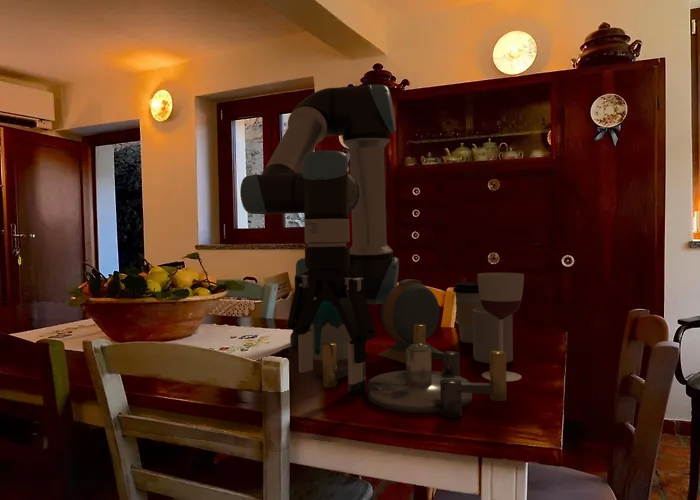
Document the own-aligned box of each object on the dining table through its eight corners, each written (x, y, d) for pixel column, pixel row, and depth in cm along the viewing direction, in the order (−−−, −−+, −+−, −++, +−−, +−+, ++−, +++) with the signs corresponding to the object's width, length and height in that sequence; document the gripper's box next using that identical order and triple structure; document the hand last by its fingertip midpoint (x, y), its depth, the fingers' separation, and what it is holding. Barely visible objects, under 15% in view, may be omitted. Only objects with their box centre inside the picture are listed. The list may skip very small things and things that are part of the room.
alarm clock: (419, 347, 127) (418, 276, 127) (448, 354, 119) (447, 278, 119) (374, 355, 119) (372, 280, 118) (402, 364, 111) (400, 282, 110)
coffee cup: (488, 337, 137) (488, 281, 136) (492, 345, 127) (491, 285, 127) (452, 337, 138) (452, 281, 138) (453, 344, 129) (453, 285, 129)
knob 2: (440, 417, 77) (439, 353, 77) (440, 409, 81) (440, 348, 80) (507, 420, 76) (507, 355, 75) (505, 412, 79) (504, 350, 78)
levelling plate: (346, 398, 88) (345, 345, 88) (406, 375, 102) (405, 329, 101) (436, 421, 76) (435, 360, 76) (490, 392, 90) (489, 340, 90)
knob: (356, 387, 93) (355, 334, 93) (369, 390, 91) (368, 336, 91) (318, 401, 86) (317, 343, 86) (332, 404, 84) (331, 346, 84)
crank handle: (462, 378, 98) (462, 328, 97) (454, 382, 95) (453, 330, 95) (419, 370, 104) (418, 323, 104) (410, 374, 102) (409, 325, 101)
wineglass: (481, 368, 106) (480, 272, 105) (526, 372, 102) (525, 272, 102) (475, 379, 98) (474, 275, 98) (523, 383, 95) (522, 276, 94)
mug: (514, 364, 108) (513, 313, 108) (472, 363, 111) (472, 312, 110) (511, 352, 120) (510, 305, 120) (473, 350, 122) (473, 304, 122)
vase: (368, 374, 103) (366, 279, 102) (330, 386, 95) (328, 284, 95) (332, 365, 110) (330, 277, 110) (294, 376, 103) (292, 281, 102)
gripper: (264, 246, 90) (267, 370, 91) (367, 245, 75) (369, 395, 75) (296, 244, 96) (298, 361, 96) (397, 244, 80) (399, 383, 81)
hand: (329, 376), depth 86 cm, fingers open, 11 cm apart
